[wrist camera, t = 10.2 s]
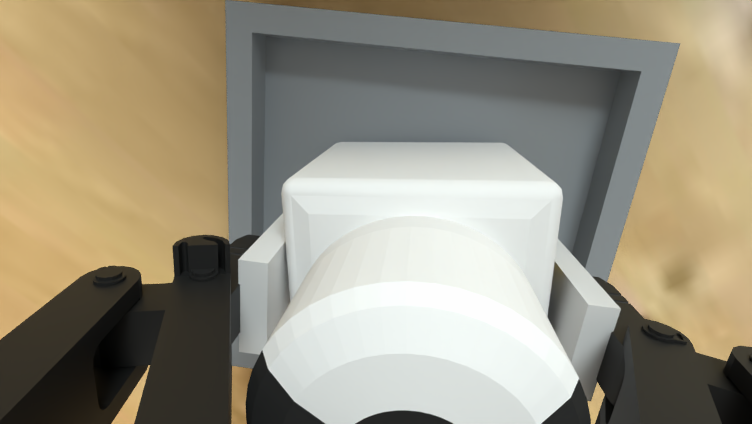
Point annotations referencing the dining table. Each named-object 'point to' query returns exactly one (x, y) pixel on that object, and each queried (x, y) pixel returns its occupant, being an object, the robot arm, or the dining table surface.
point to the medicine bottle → (418, 292)
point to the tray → (439, 107)
